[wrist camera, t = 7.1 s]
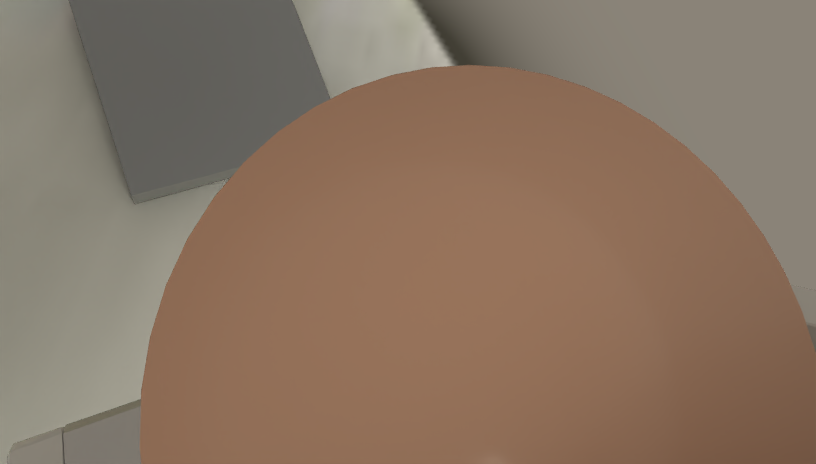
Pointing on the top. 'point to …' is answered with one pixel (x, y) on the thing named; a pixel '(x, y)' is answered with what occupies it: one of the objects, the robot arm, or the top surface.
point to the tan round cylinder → (477, 293)
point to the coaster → (195, 83)
